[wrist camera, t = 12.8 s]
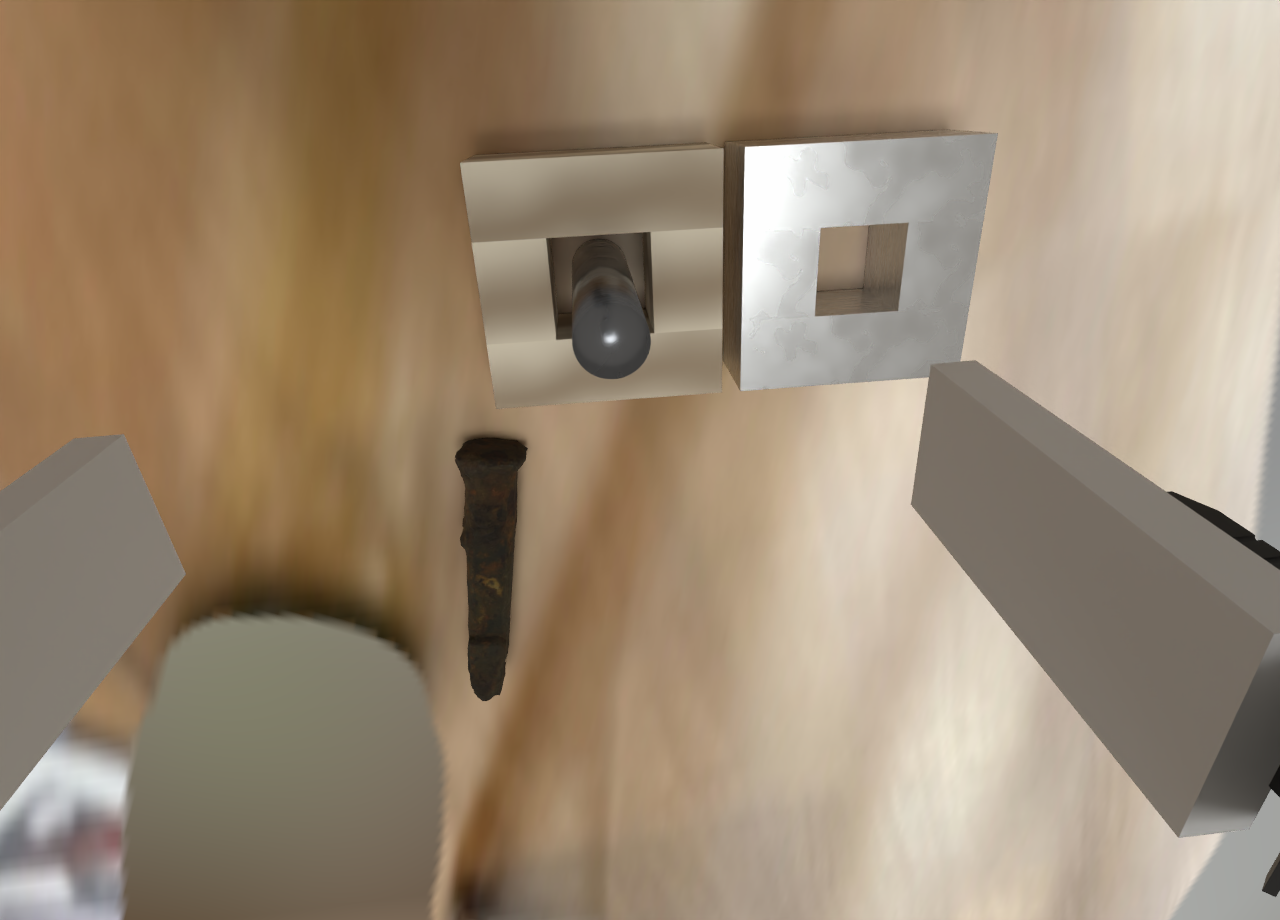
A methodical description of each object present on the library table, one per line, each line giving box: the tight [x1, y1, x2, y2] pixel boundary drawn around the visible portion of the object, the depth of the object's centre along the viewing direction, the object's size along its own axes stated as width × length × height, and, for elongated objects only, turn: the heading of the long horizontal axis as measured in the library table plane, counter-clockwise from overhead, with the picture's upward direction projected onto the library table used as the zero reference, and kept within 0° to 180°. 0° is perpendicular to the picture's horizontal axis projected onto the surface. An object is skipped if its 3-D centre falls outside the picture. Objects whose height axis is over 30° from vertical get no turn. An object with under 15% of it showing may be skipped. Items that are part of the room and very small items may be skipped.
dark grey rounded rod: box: [572, 239, 651, 379], centre depth 33 cm, size 3×3×14 cm
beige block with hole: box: [460, 143, 724, 409], centre depth 37 cm, size 12×12×5 cm
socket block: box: [723, 130, 998, 391], centre depth 38 cm, size 12×12×5 cm
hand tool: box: [455, 438, 528, 701], centre depth 46 cm, size 19×4×5 cm, turn 172°
